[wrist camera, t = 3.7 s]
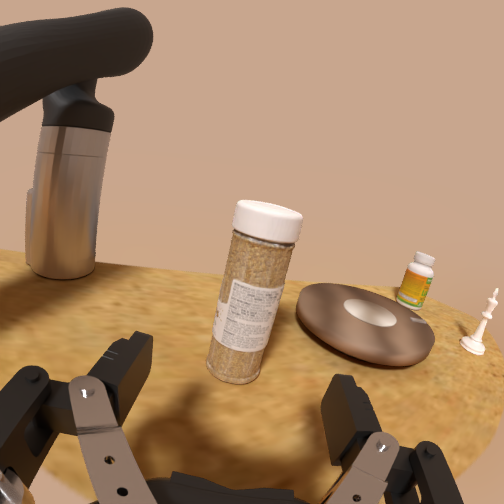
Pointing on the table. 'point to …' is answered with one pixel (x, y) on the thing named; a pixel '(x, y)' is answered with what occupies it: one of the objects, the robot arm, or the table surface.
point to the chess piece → (480, 329)
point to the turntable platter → (365, 324)
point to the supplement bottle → (416, 282)
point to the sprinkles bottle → (251, 288)
